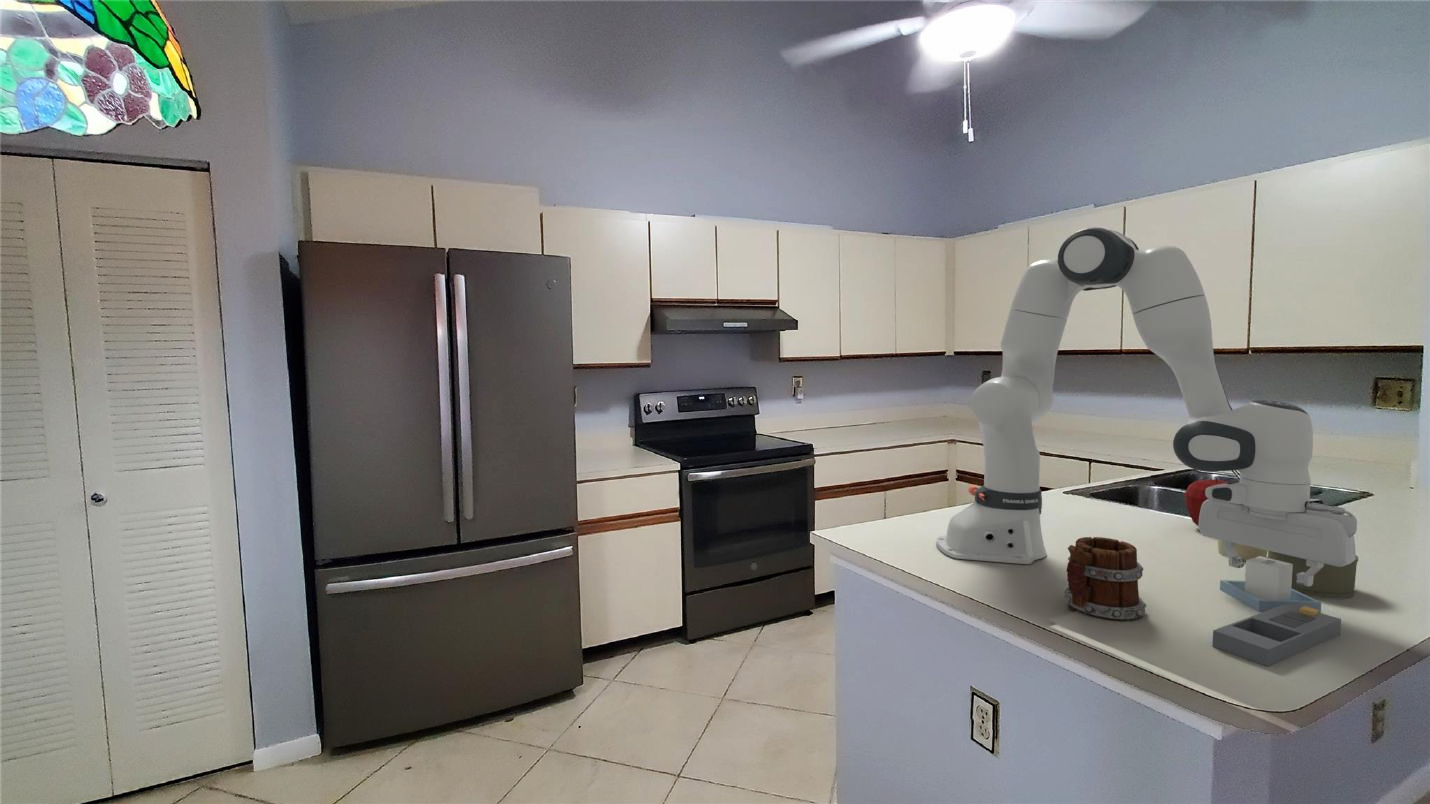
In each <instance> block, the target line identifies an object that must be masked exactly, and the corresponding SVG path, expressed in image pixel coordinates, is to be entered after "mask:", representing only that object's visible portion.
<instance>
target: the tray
mask: <svg viewBox="0 0 1430 804" xmlns="http://www.w3.org/2000/svg"><path fill="white" fill-rule="evenodd" d="M1219 590H1220V591H1221V592H1222V593H1224V594H1226V595H1228V596H1230V597H1232V598H1234V599H1235V600H1237V601H1239V602H1241V603H1243V604H1244V605H1247V606H1248V607H1250V608H1252V609H1253V610H1255V611H1257V612H1259V613H1262V612H1265V611H1267V610H1270V609H1273V608H1275V607H1278V606H1281V605H1284V604H1286V603H1287V604H1291V605H1294V606H1298V607H1304V606H1307V607H1311V608H1314V609H1318V610H1319V613H1322V612H1321V611H1322V602H1321V601H1319V600H1318V599H1315V598H1312V597H1310V595H1306V594H1302V593H1300V592H1298V591H1296V590H1294V589H1292V588H1291V600H1268V599H1259V598H1257V597H1255V596H1253V595H1251V594H1249V593H1248V592H1246V591H1245V580H1239V579H1238V580H1235V579H1233V580H1232V579H1231V580H1230V579H1220V581H1219Z"/></svg>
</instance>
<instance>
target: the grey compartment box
mask: <svg viewBox="0 0 1430 804" xmlns="http://www.w3.org/2000/svg"><path fill="white" fill-rule="evenodd" d="M1341 629H1342V618H1338V617H1335V616H1332V615H1330V614H1329V615H1328V614H1325V613H1322V612H1321V613H1319V610H1318V609H1314V608H1311V607H1307V606H1304V607H1298V606H1294V605H1291V604H1287V603H1286V604H1284V605H1281V606H1278V607H1275V608H1273V609H1270V610H1267V611H1265V612H1259V613H1257V614H1255V615H1252V616H1249V617H1246V618H1243V619H1240V620H1237V621H1235V622H1232V623H1230V624H1227V625H1224V626H1222V627H1221V626H1220V627H1219V628H1216V629H1213V631H1212V644H1211V646H1212V647H1214V648H1216V649H1219V650H1223V651H1225V652H1227V653H1230V654H1232V655H1235V656H1238V657H1240V658H1243V659H1246V660H1249V661H1252V662H1255V663H1257V664H1260V665H1263V666H1265V667H1269V666H1273V665H1276V664H1277V663H1280V662H1282V661H1284V660H1286V659H1288V658H1290V657H1294V656H1295V655H1297V654H1300V653H1302V652H1305V651H1307V650H1309V649H1311V648H1313V647H1315V646H1318V645H1320V644H1322V643H1325V642H1327V641H1329V640H1332V639H1334V638H1335V637H1339V636H1340V635H1341V631H1342V630H1341Z"/></svg>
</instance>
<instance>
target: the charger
mask: <svg viewBox="0 0 1430 804" xmlns="http://www.w3.org/2000/svg"><path fill="white" fill-rule="evenodd" d="M1292 568H1293V564H1290V563H1286V562H1282V561H1278V560H1274V559H1269V558H1268V557H1266V558H1265V557H1261V556H1259V557H1256V558H1252V559H1249V560H1246V561H1245V575H1244V577H1245V579H1244V581H1245V591H1246V592H1248V593H1249V594H1251V595H1253V596H1255V597H1257V598H1259V599H1268V600H1291V585H1292Z"/></svg>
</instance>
